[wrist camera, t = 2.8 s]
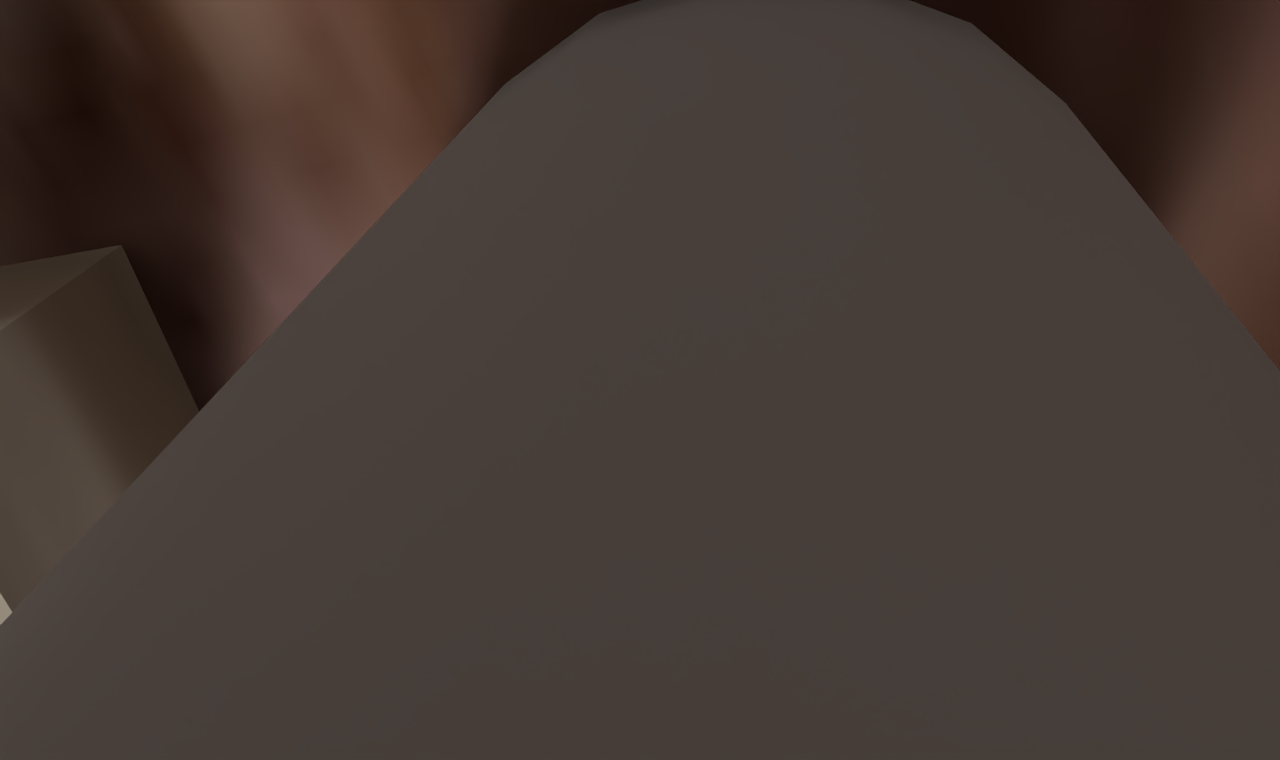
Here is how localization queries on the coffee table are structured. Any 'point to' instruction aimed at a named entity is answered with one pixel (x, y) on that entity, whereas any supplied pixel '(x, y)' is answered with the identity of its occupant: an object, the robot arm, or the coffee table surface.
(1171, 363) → the can
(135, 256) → the coffee table surface
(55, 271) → the cream block
